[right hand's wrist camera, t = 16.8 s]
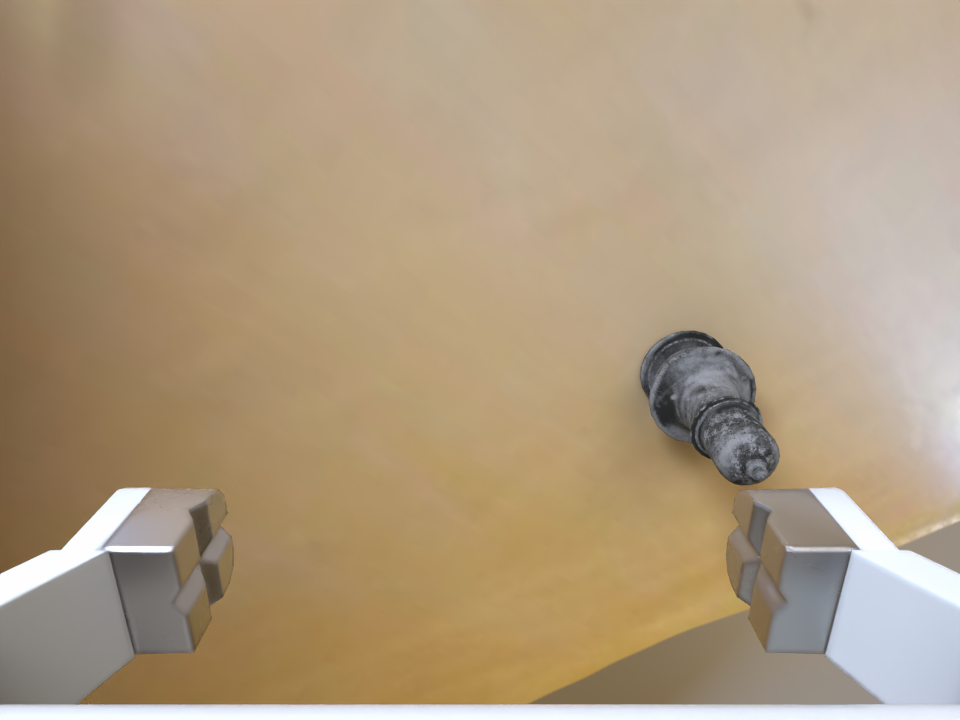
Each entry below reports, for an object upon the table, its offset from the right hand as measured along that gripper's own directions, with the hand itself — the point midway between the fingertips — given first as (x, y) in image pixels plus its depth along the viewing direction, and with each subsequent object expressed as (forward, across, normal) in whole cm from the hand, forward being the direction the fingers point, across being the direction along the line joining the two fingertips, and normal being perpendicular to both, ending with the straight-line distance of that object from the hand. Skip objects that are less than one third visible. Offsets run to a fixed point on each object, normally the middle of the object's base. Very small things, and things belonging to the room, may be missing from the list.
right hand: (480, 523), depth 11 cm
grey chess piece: (+28, +12, -9) cm, 32 cm away
